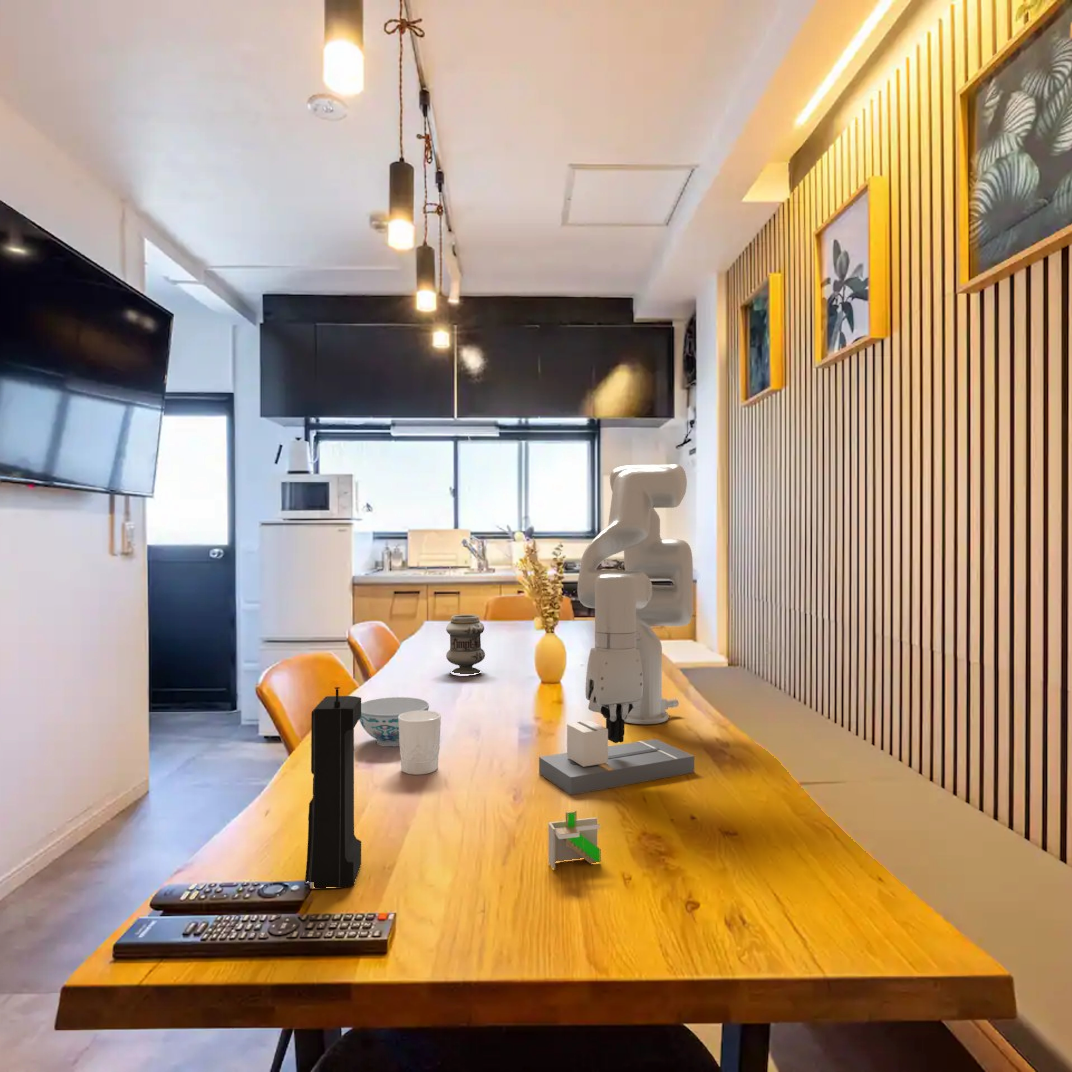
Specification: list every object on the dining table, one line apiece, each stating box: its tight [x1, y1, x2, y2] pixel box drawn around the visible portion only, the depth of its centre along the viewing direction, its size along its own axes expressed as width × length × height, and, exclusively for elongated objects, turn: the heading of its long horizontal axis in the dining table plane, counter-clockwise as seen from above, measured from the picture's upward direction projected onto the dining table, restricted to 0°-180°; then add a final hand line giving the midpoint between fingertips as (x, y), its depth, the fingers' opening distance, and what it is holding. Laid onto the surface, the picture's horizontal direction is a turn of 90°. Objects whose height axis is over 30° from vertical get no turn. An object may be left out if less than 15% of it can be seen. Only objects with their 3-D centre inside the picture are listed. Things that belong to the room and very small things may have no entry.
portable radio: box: [304, 686, 362, 888], centre depth 93 cm, size 8×6×25 cm
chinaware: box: [358, 696, 430, 747], centre depth 151 cm, size 15×15×8 cm
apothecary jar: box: [445, 614, 486, 674], centre depth 223 cm, size 12×12×18 cm
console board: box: [538, 738, 695, 796], centre depth 132 cm, size 26×12×3 cm, turn 116°
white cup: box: [398, 710, 442, 776], centre depth 134 cm, size 8×8×10 cm
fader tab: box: [566, 720, 609, 767], centre depth 129 cm, size 5×6×6 cm
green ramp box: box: [548, 810, 602, 869], centre depth 95 cm, size 4×7×8 cm, turn 105°
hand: (615, 740), depth 132 cm, fingers closed
